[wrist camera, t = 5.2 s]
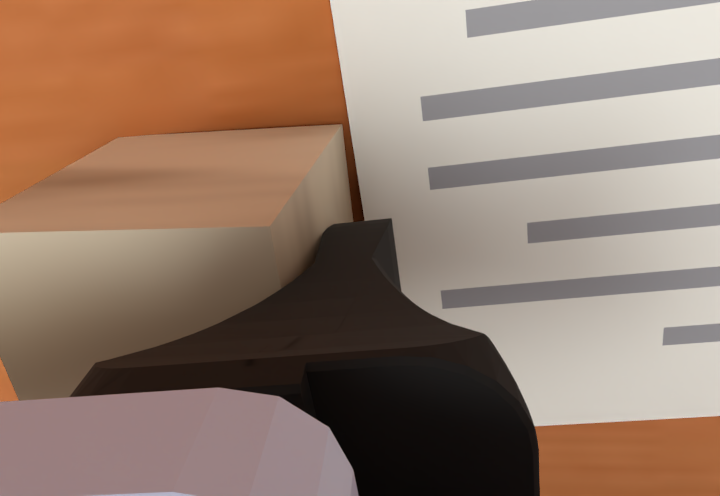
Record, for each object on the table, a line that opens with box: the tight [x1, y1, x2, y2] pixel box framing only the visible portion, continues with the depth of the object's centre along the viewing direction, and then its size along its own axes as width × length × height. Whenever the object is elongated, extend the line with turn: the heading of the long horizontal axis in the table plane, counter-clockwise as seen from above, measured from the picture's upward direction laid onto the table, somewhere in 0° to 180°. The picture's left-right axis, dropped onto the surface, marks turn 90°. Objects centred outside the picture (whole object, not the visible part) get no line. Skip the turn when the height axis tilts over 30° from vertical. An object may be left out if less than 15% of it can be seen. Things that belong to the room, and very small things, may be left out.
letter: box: [330, 0, 720, 426], centre depth 13 cm, size 12×14×1 cm
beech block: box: [0, 124, 353, 401], centre depth 12 cm, size 5×5×5 cm
